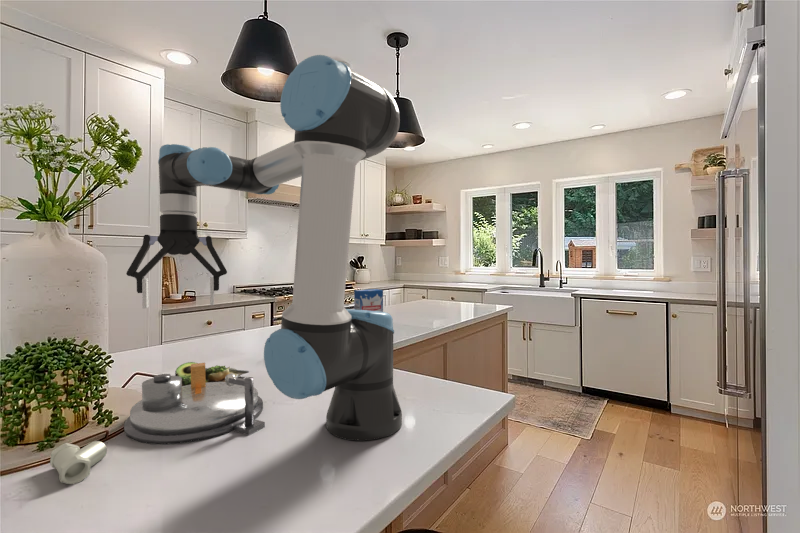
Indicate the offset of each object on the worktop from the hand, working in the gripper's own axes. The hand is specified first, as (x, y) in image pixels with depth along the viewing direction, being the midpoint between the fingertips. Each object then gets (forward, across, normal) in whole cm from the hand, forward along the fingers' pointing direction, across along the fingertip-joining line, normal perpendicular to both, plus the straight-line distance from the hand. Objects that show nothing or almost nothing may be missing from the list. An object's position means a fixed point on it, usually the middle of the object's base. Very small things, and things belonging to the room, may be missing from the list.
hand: (179, 306), depth 93 cm
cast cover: (+19, +2, +12) cm, 22 cm away
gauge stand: (+22, -12, +21) cm, 33 cm away
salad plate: (+23, -4, -14) cm, 27 cm away
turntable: (+21, -4, +11) cm, 24 cm away
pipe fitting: (+22, +11, +28) cm, 38 cm away
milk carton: (+22, -63, -45) cm, 81 cm away
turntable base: (+22, -4, +11) cm, 25 cm away
